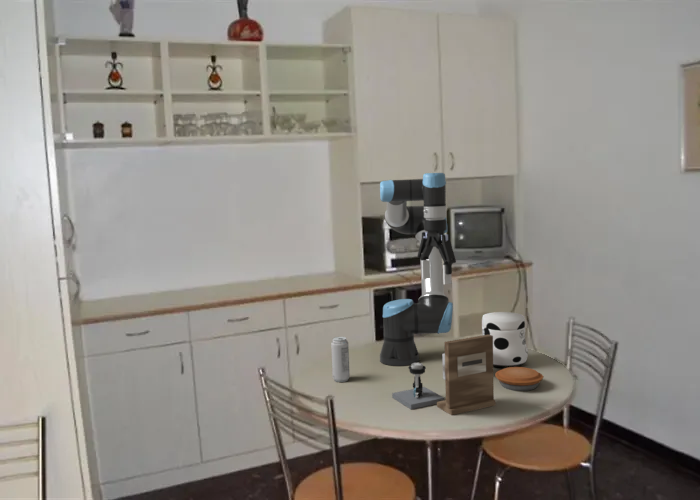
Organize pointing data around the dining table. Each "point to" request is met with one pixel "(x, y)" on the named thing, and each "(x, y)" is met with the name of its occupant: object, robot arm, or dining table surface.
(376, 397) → the dining table surface
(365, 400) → the dining table surface
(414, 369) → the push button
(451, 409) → the mounted unit
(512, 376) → the pie
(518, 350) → the milk container
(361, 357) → the dining table surface
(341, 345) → the energy drink can
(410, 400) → the mat
